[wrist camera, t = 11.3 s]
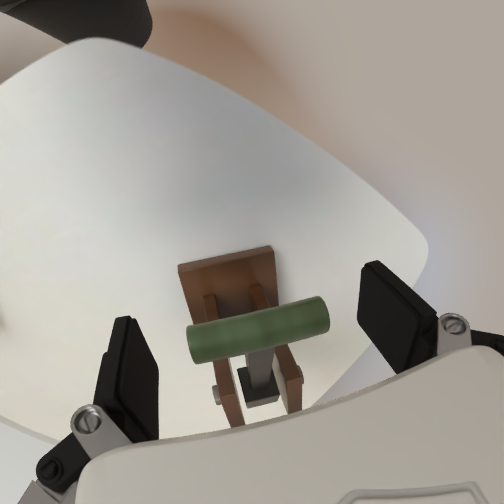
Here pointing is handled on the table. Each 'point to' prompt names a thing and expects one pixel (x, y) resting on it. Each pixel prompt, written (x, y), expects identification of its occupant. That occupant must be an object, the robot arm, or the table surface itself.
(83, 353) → the table surface
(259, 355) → the light lever
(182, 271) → the lever bracket
